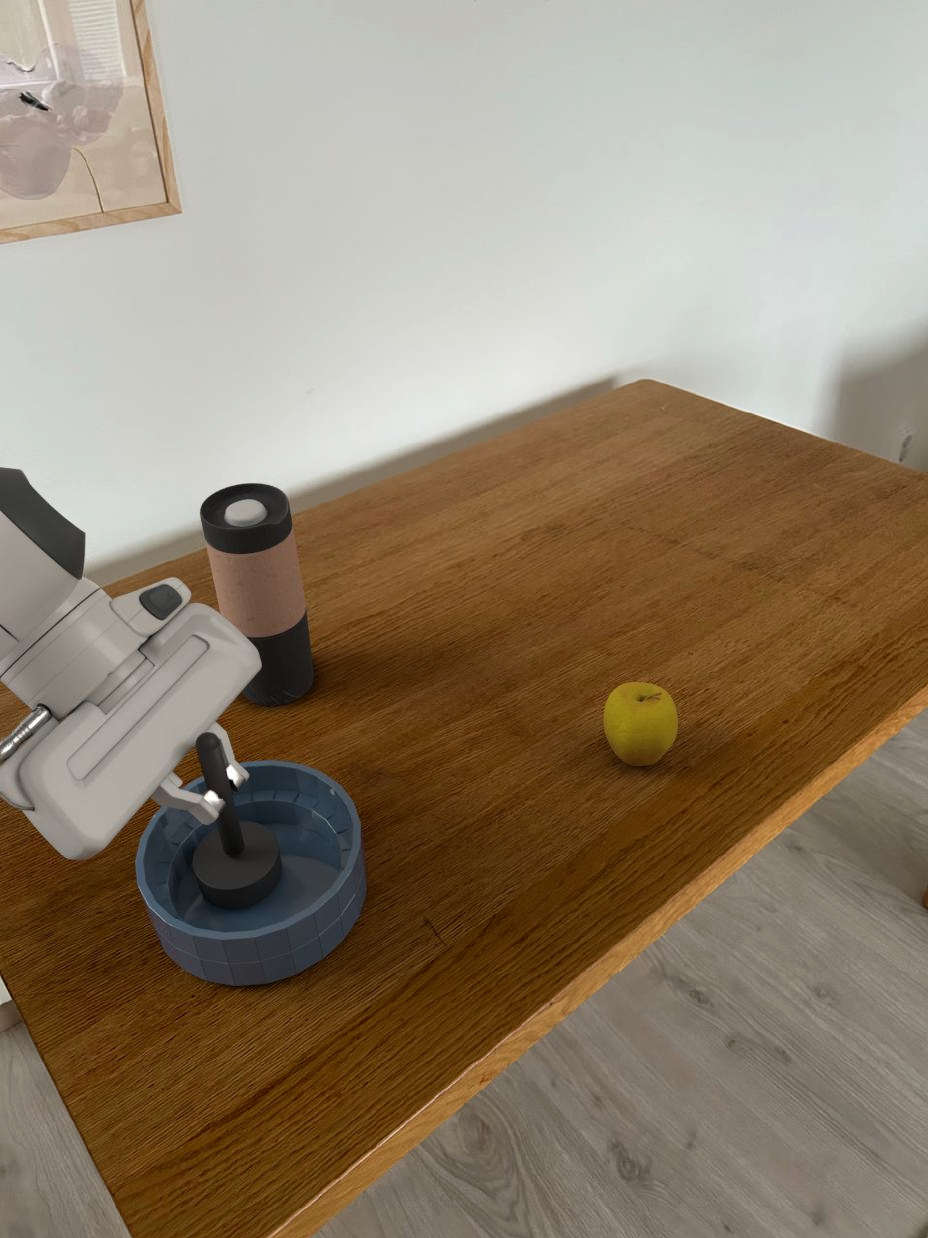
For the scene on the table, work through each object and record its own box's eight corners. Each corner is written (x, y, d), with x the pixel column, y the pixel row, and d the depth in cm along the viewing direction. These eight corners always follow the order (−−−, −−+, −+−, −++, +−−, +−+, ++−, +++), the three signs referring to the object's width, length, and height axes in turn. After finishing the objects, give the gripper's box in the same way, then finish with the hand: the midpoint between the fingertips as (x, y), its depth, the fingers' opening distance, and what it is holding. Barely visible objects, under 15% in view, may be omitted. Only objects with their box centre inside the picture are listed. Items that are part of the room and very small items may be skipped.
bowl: (248, 1037, 67) (232, 984, 63) (112, 906, 75) (90, 853, 71) (410, 884, 76) (406, 830, 72) (274, 783, 85) (262, 730, 81)
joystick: (234, 924, 72) (196, 786, 63) (181, 878, 75) (137, 739, 66) (299, 869, 76) (272, 731, 66) (246, 827, 79) (213, 690, 70)
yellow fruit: (684, 774, 85) (696, 707, 80) (613, 786, 84) (621, 719, 79) (658, 723, 89) (667, 657, 85) (591, 734, 89) (596, 668, 84)
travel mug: (230, 666, 97) (191, 492, 84) (306, 647, 99) (279, 474, 86) (245, 717, 91) (205, 538, 79) (325, 696, 93) (299, 518, 81)
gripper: (-14, 753, 57) (159, 907, 60) (191, 564, 72) (322, 696, 75) (-46, 783, 61) (117, 926, 64) (154, 599, 76) (279, 722, 79)
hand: (229, 800), depth 70 cm, fingers closed on joystick
